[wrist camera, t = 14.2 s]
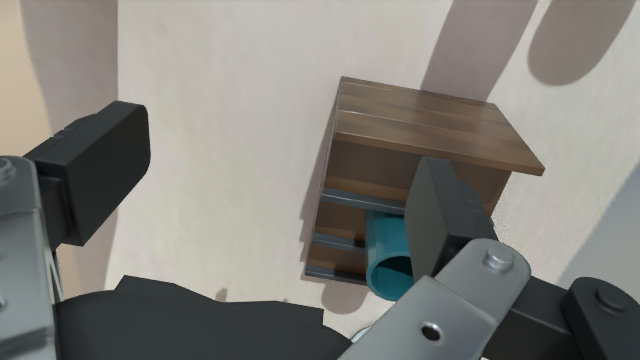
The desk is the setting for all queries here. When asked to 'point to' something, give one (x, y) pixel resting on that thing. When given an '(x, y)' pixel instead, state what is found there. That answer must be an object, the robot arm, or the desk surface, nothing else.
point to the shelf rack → (402, 163)
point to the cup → (387, 255)
